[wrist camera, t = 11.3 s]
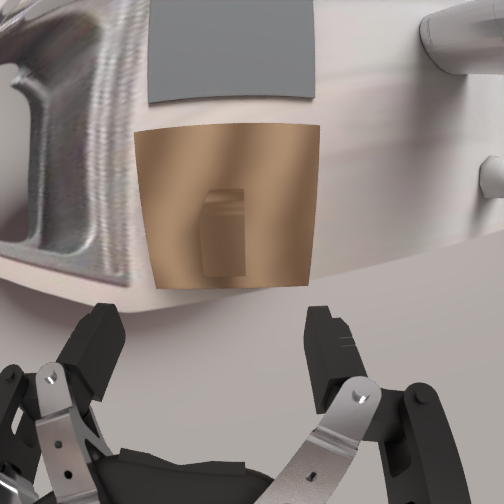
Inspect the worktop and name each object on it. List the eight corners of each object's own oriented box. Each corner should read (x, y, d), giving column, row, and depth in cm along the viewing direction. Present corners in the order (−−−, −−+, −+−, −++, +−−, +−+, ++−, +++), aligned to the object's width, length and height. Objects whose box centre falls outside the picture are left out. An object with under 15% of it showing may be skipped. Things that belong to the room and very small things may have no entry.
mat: (309, -31, 18) (310, -33, 18) (313, 98, 26) (314, 97, 26) (155, -25, 18) (153, -27, 17) (150, 103, 26) (148, 102, 26)
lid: (316, 125, 20) (348, 129, 13) (306, 279, 26) (323, 330, 20) (138, 131, 19) (97, 140, 13) (158, 282, 26) (138, 332, 19)
